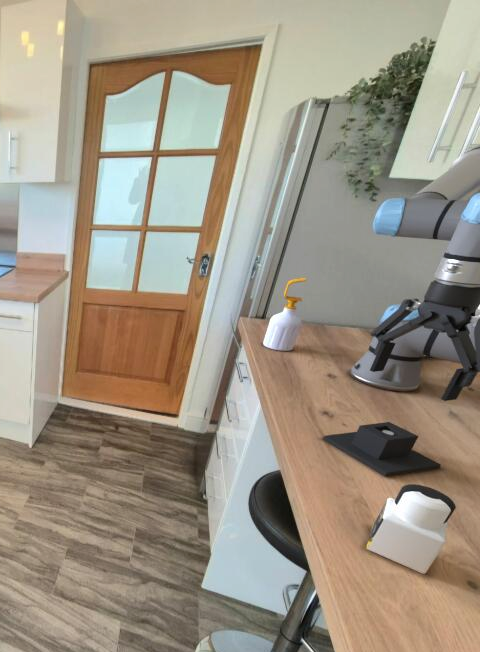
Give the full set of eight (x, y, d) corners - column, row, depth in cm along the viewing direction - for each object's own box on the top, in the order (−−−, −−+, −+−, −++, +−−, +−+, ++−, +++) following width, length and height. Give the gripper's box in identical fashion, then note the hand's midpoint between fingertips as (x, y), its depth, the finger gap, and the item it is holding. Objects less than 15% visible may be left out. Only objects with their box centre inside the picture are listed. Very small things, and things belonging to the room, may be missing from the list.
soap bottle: (293, 353, 148) (318, 282, 137) (262, 348, 152) (284, 279, 142) (292, 345, 155) (315, 277, 144) (262, 340, 159) (283, 274, 148)
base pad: (371, 433, 103) (381, 413, 100) (439, 468, 90) (451, 446, 88) (322, 439, 101) (331, 419, 98) (384, 476, 88) (396, 454, 86)
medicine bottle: (371, 527, 76) (401, 473, 70) (427, 550, 71) (464, 494, 66) (365, 549, 71) (396, 493, 66) (424, 575, 67) (463, 517, 61)
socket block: (379, 440, 98) (389, 421, 96) (408, 455, 93) (418, 436, 91) (350, 444, 97) (359, 425, 95) (378, 459, 92) (388, 440, 90)
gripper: (374, 270, 90) (337, 362, 100) (535, 302, 68) (468, 416, 78) (404, 268, 91) (364, 359, 101) (571, 298, 69) (500, 411, 79)
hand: (409, 384), depth 89 cm, fingers open, 13 cm apart
